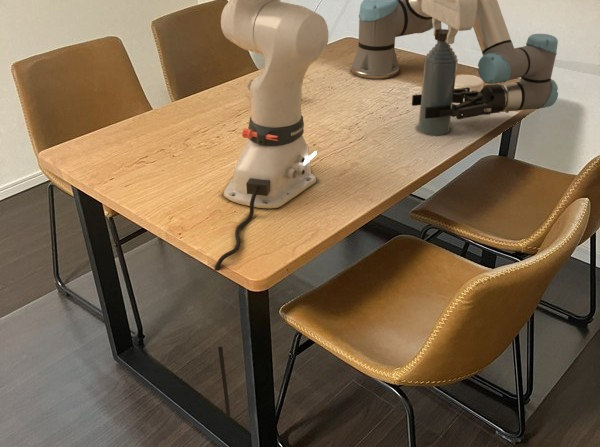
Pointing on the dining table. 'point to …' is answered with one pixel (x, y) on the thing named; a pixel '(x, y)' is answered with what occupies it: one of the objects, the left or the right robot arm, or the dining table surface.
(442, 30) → the cap
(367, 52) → the right robot arm
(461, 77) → the cream round disc
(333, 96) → the dining table surface
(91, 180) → the dining table surface
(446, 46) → the bottle
